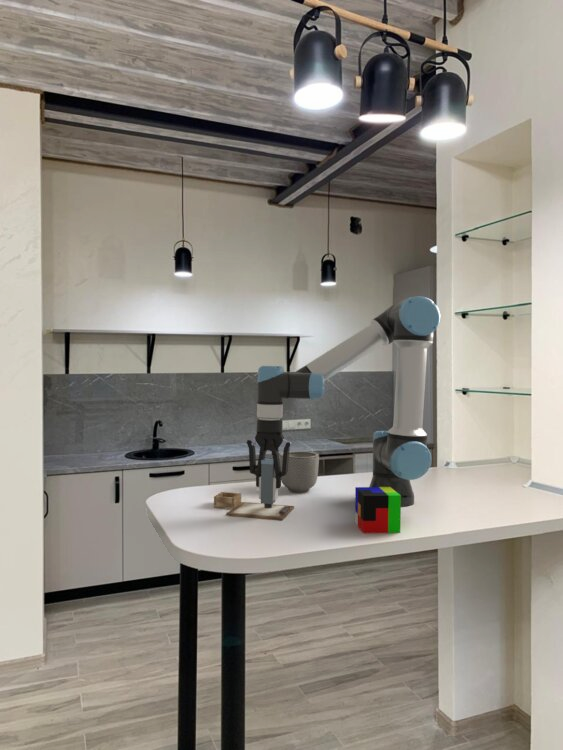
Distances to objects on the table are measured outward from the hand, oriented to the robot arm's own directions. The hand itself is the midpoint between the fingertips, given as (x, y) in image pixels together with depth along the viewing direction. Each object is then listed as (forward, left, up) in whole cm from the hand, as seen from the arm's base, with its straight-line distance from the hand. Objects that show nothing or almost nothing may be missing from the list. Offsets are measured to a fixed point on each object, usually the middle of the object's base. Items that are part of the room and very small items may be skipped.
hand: (268, 498), depth 160 cm
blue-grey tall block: (0, 0, -3) cm, 3 cm away
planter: (-1, -33, -5) cm, 34 cm away
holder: (+15, -7, -5) cm, 18 cm away
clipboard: (+3, -4, -5) cm, 7 cm away
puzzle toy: (-32, +2, -5) cm, 32 cm away
